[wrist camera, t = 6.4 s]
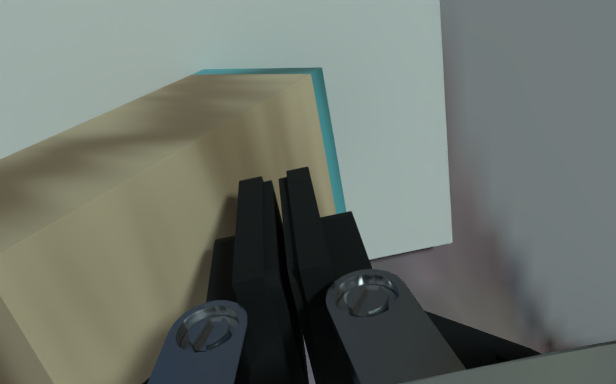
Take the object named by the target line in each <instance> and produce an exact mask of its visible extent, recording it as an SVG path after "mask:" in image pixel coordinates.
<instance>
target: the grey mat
mask: <svg viewBox="0 0 616 384" xmlns="http://www.w3.org/2000/svg"><path fill="white" fill-rule="evenodd" d="M318 67H322V70H323V76H324V82H325V88H326V94H327V100H328V106H329V111H330V117H331V123H332V129H333V135H334V141H335V147H336V153H337V159H338V165H339V171H340V177H341V182H342V188H343V194H344V200H345V206H346V212H348V211H352V213H353V216H354V219H355V222H356V224H357V227H358V230H359V233H360V236H361V238H362V241H363V244H364V247H365V250H366V252H367V255H368V258H369V260H370V259H375V258H380V257H385V256H389V255H394V254H399V253H404V252H409V251H414V250H419V249H424V248H428V247H433V246H438V245H443V244H448V243H452V225H451V206H450V187H449V169H448V150H447V132H446V113H445V94H444V76H443V57H442V39H441V20H440V1H439V0H0V159H2V158H4V157H6V156H9V155H11V154H13V153H15V152H18V151H20V150H22V149H25V148H27V147H29V146H31V145H34V144H36V143H38V142H40V141H43V140H45V139H47V138H49V137H52V136H54V135H56V134H58V133H61V132H63V131H65V130H67V129H70V128H72V127H74V126H76V125H79V124H81V123H83V122H86V121H88V120H90V119H92V118H95V117H97V116H99V115H101V114H104V113H106V112H108V111H110V110H113V109H115V108H117V107H119V106H122V105H124V104H126V103H128V102H131V101H133V100H135V99H137V98H140V97H142V96H144V95H146V94H149V93H151V92H153V91H156V90H158V89H160V88H162V87H165V86H167V85H169V84H171V83H174V82H176V81H178V80H180V79H183V78H185V77H187V76H189V75H192V74H194V73H196V72H198V71H201V70H203V69H253V68H318Z"/></svg>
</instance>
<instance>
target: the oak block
mask: <svg viewBox="0 0 616 384" xmlns="http://www.w3.org/2000/svg"><path fill="white" fill-rule="evenodd" d="M307 166H308V167H309V172H310V176H311V180H312V184H313V189H314V193H315V197H316V201H317V206H318V210H319V214H320V217H325V216H329V215H334V214H339V213H344V212H346V206H345V200H344V194H343V188H342V182H341V177H340V171H339V165H338V159H337V153H336V147H335V141H334V135H333V129H332V123H331V117H330V111H329V106H328V100H327V94H326V88H325V82H324V76H323V70H322V67H318V68H253V69H203V70H201V71H198V72H196V73H194V74H192V75H189V76H187V77H185V78H183V79H180V80H178V81H176V82H174V83H171V84H169V85H167V86H165V87H162V88H160V89H158V90H156V91H153V92H151V93H149V94H146V95H144V96H142V97H140V98H137V99H135V100H133V101H131V102H128V103H126V104H124V105H122V106H119V107H117V108H115V109H113V110H110V111H108V112H106V113H104V114H101V115H99V116H97V117H95V118H92V119H90V120H88V121H86V122H83V123H81V124H79V125H76V126H74V127H72V128H70V129H67V130H65V131H63V132H61V133H58V134H56V135H54V136H52V137H49V138H47V139H45V140H43V141H40V142H38V143H36V144H34V145H31V146H29V147H27V148H25V149H22V150H20V151H18V152H15V153H13V154H11V155H9V156H6V157H4V158H2V159H0V384H142V383H144V382H145V381H146V380H147V379H148V378H149V377H150V376H151V373H152V371H153V369H154V366H155V364H156V361H157V359H158V357H159V354H160V352H161V349H162V347H163V344H164V342H165V340H166V337H167V335H168V332H169V331H170V329H171V327H172V326H173V324H174V322H176V321H177V320H178V319H179V318H180V317H181V316H182V315H183V314H184V313H186V312H187V311H189V310H190V309H192V308H193V307H196V306H198V305H201V304H203V303H206V298H207V291H208V284H209V277H210V269H211V262H212V255H213V248H214V242H215V240H216V239H220V238H225V237H229V236H234V235H235V230H236V216H237V201H238V187H239V181H241V180H245V179H250V178H255V177H260V176H262V178H263V181H264V182H265V181H270V180H272V183H273V186H274V190H275V194H276V198H277V202H278V206H279V210H280V215H281V219H282V210H281V199H280V189H279V178H284V177H287V174H286V171H288V170H293V169H298V168H302V167H307ZM282 223H283V220H282Z"/></svg>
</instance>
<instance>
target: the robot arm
mask: <svg viewBox="0 0 616 384" xmlns="http://www.w3.org/2000/svg"><path fill="white" fill-rule="evenodd" d="M286 174H287V177H284V178H279V189H280V199H281V210H282V219H281V215H280V210H279V206H278V202H277V198H276V194H275V190H274V186H273V183H272V180H270V181H265V182H264V181H263V178H262V176H260V177H255V178H250V179H245V180H241V181H239V187H238V201H237V216H236V230H235V235H234V236H229V237H225V238H220V239H216V240H215V242H214V248H213V255H212V262H211V269H210V277H209V284H208V291H207V298H206V303H203V304H201V305H198V306H196V307H193V308H192V309H190V310H189V311H187V312H186V313H184V314H183V315H182V316H181V317H180V318H179V319H178V320H177V321H176V322H174V324H173V326H172V327H171V329H170V331H169V332H168V335H167V337H166V340H165V342H164V344H163V347H162V349H161V352H160V354H159V357H158V359H157V361H156V364H155V366H154V369H153V371H152V373H151V376H150V377H149V378H148V379H147V380H146V381H145V382H144V383H142V384H309V380H308V372H307V363H306V355H305V347H304V340H305V344H306V347H307V351H308V355H309V359H310V363H311V367H312V371H313V375H314V379H315V383H316V384H616V341H611V342H605V343H599V344H593V345H587V346H582V347H576V348H570V349H565V350H561V351H556V352H551V353H546V354H541V353H539V352H537V351H535V350H532V349H530V348H527V347H525V346H522V345H519V344H516V343H513V342H511V341H508V340H505V339H502V338H499V337H497V336H494V335H491V334H488V333H486V332H483V331H480V330H477V329H474V328H472V327H469V326H466V325H463V324H460V323H458V322H455V321H452V320H449V319H446V318H444V317H441V316H438V315H435V314H432V313H430V312H427V311H424V309H423V308H422V307H421V305H420V304H419V302H418V301H417V300H416V298H415V297H414V295H413V294H412V293H411V291H410V290H409V288H408V287H407V286H406V284H405V283H404V282H403V281H402V280H401V279H400V278H399V277H398V276H397V275H394V274H392V273H390V272H388V271H384V270H379V269H372V266H371V264H370V261H369V258H368V255H367V252H366V250H365V247H364V244H363V241H362V238H361V236H360V233H359V230H358V227H357V224H356V222H355V219H354V216H353V213H352V211H348V212H344V213H339V214H334V215H329V216H325V217H320V214H319V210H318V206H317V201H316V197H315V193H314V189H313V184H312V180H311V176H310V172H309V167H308V166H307V167H302V168H298V169H293V170H288V171H286ZM282 220H283V223H282ZM303 336H304V339H303Z"/></svg>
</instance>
